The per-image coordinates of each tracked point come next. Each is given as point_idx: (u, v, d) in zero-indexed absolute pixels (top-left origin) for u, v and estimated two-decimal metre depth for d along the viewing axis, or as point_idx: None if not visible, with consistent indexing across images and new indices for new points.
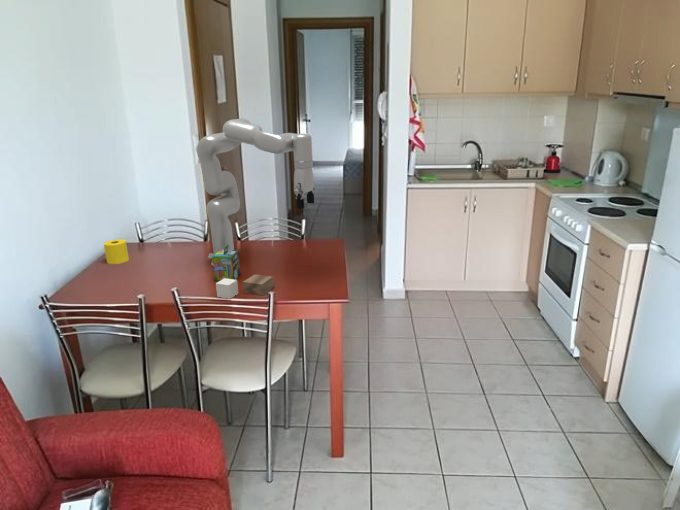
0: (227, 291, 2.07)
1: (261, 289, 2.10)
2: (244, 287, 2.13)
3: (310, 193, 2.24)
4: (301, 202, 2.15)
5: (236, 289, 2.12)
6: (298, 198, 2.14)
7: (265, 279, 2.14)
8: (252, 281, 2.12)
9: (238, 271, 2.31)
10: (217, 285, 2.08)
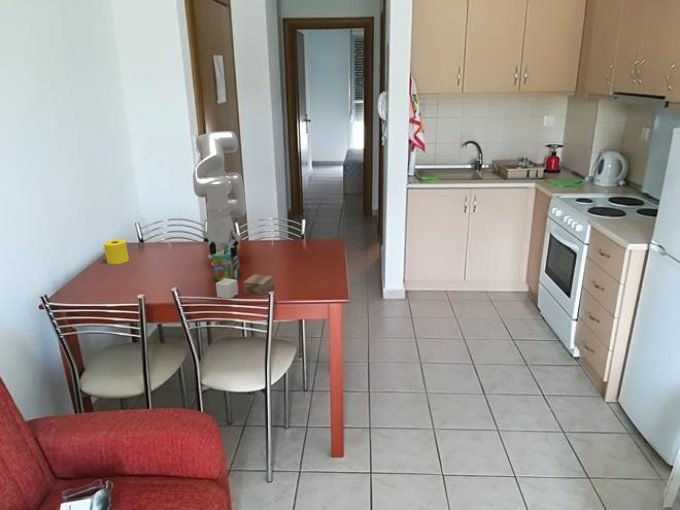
0: (227, 291, 2.07)
1: (262, 289, 2.10)
2: (244, 288, 2.13)
3: (213, 243, 2.07)
4: None
5: (236, 289, 2.12)
6: None
7: (265, 279, 2.14)
8: (252, 281, 2.12)
9: (238, 271, 2.31)
10: (217, 285, 2.08)
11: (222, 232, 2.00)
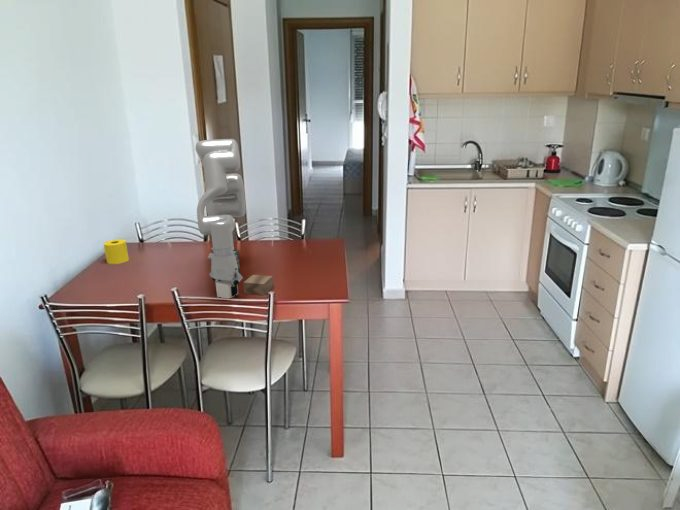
0: (227, 291, 2.07)
1: (262, 289, 2.10)
2: (245, 288, 2.12)
3: None
4: None
5: None
6: (236, 284, 2.08)
7: (265, 278, 2.15)
8: (253, 281, 2.12)
9: (238, 271, 2.31)
10: (217, 285, 2.08)
11: (226, 270, 2.05)
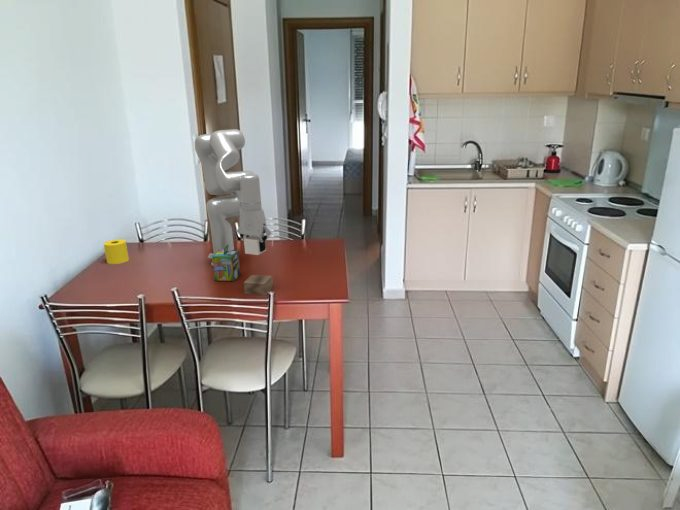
0: (255, 246, 2.06)
1: (263, 289, 2.10)
2: (245, 288, 2.12)
3: None
4: None
5: None
6: (264, 240, 2.07)
7: (265, 278, 2.15)
8: (253, 281, 2.12)
9: (238, 271, 2.31)
10: (245, 241, 2.07)
11: (255, 225, 2.04)
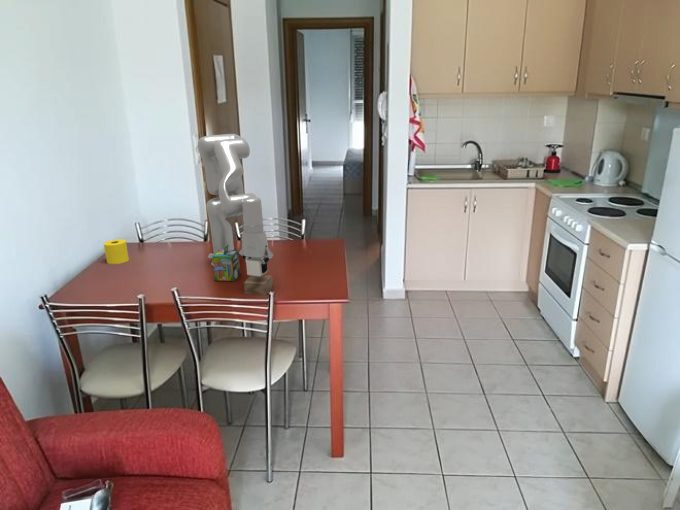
0: (257, 268, 2.09)
1: (264, 289, 2.10)
2: (245, 288, 2.12)
3: None
4: None
5: None
6: (266, 262, 2.10)
7: (265, 278, 2.15)
8: (253, 281, 2.12)
9: (238, 271, 2.31)
10: (247, 262, 2.10)
11: (257, 247, 2.06)
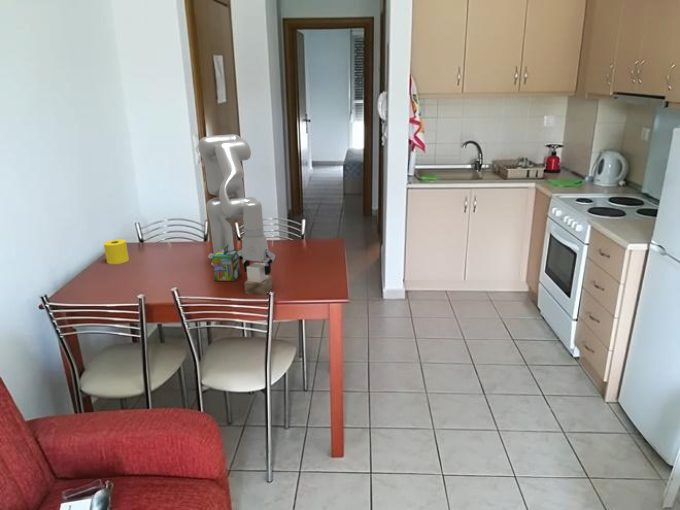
0: (258, 274, 2.10)
1: (264, 289, 2.10)
2: (246, 289, 2.12)
3: (247, 261, 2.14)
4: None
5: None
6: None
7: None
8: None
9: (238, 271, 2.31)
10: (248, 268, 2.11)
11: (257, 251, 2.07)
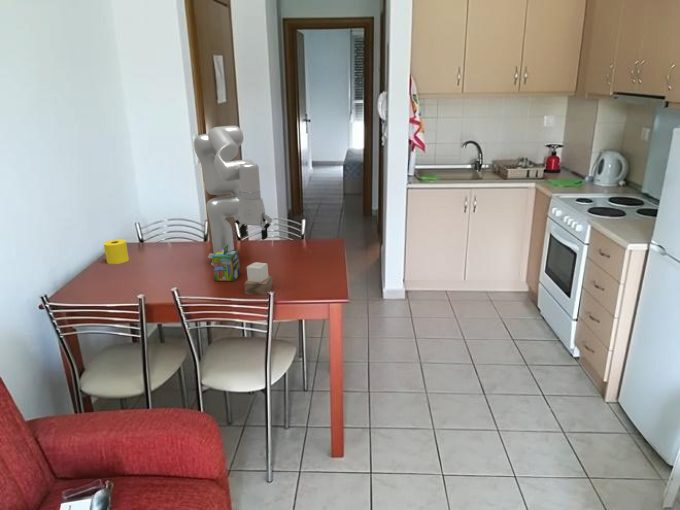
0: (258, 274, 2.10)
1: (265, 289, 2.10)
2: (246, 289, 2.11)
3: (243, 226, 2.10)
4: None
5: (266, 272, 2.15)
6: None
7: None
8: (254, 282, 2.12)
9: (238, 271, 2.31)
10: (248, 268, 2.11)
11: (254, 214, 2.03)
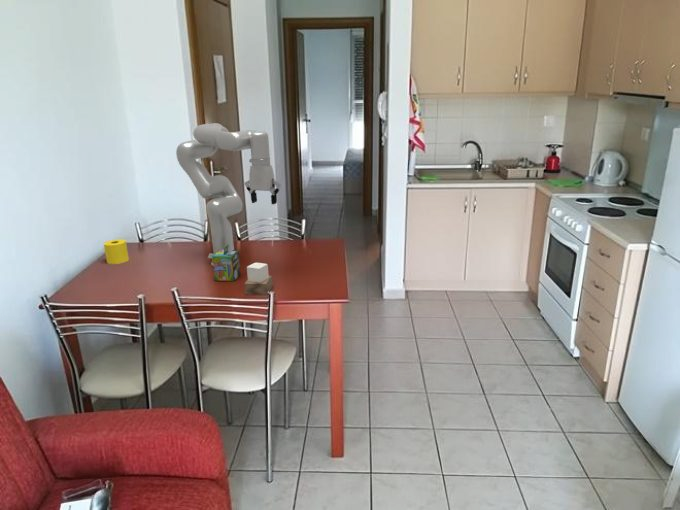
0: (258, 275, 2.10)
1: (265, 289, 2.10)
2: (246, 289, 2.11)
3: (254, 192, 2.23)
4: None
5: (267, 273, 2.14)
6: (276, 193, 2.19)
7: None
8: (254, 282, 2.12)
9: (238, 271, 2.31)
10: (248, 269, 2.11)
11: (264, 180, 2.16)
